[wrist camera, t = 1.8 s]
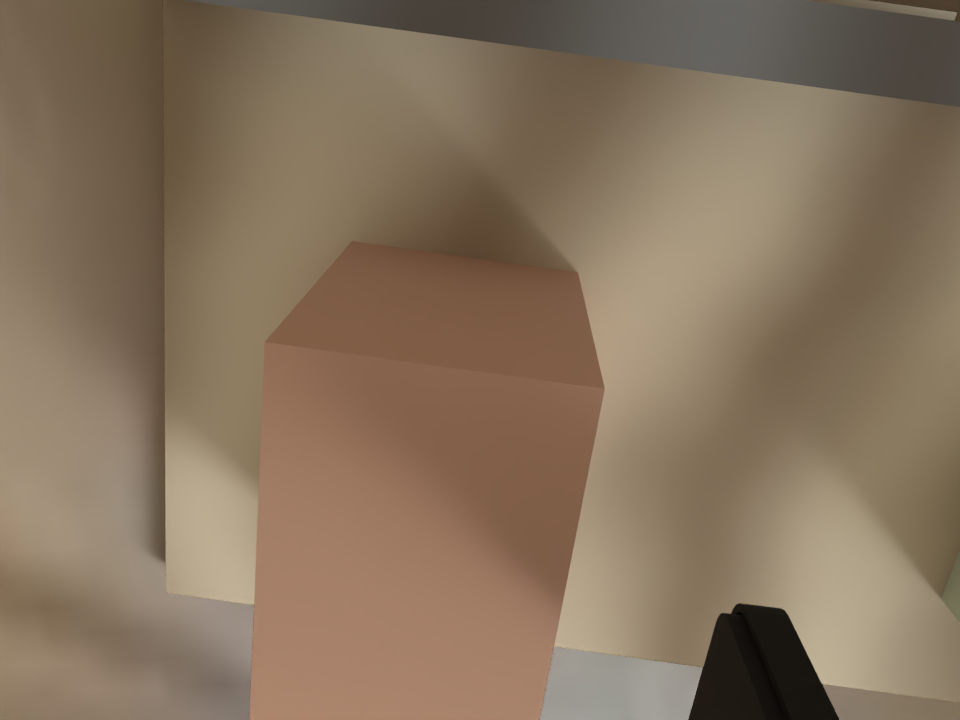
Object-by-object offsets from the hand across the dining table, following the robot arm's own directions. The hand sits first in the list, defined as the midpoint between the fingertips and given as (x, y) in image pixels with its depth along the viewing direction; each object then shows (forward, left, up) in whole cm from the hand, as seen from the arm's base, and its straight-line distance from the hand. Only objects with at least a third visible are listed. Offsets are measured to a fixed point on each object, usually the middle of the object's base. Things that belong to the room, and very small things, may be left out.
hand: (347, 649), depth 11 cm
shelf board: (-8, -1, -8) cm, 11 cm away
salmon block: (-1, 0, -8) cm, 8 cm away
